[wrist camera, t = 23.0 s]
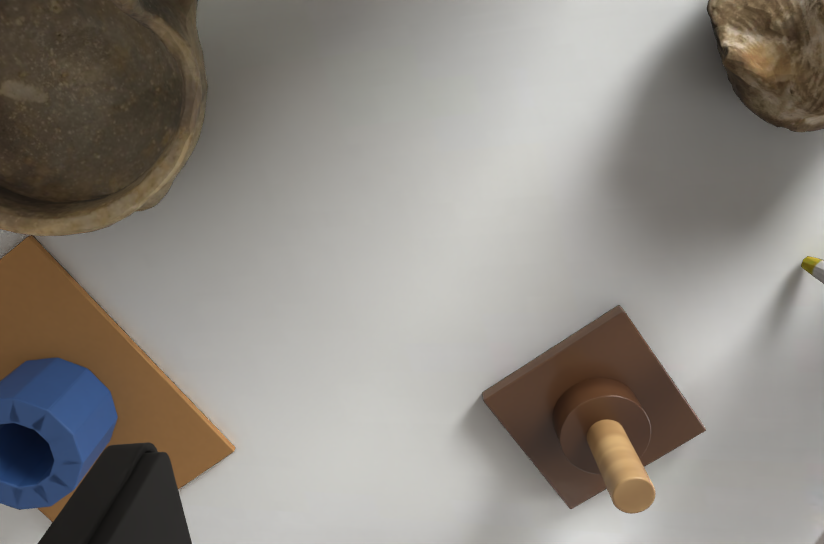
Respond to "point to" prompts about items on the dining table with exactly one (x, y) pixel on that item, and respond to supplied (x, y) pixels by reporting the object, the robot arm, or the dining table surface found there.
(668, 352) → the dining table surface
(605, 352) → the dowel stand
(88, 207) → the bowl
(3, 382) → the blue hollow cylinder
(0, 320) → the mat
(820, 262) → the alarm clock
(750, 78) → the fossilized seashell
